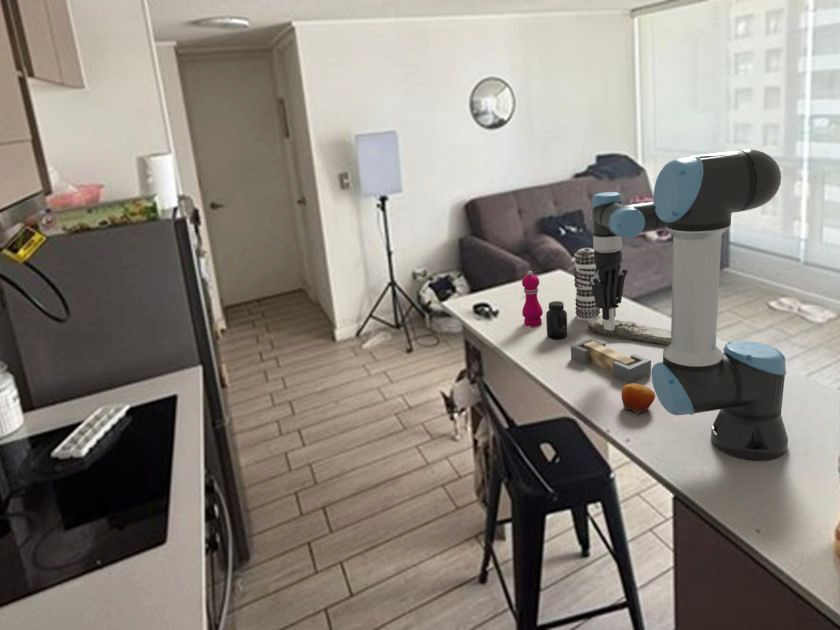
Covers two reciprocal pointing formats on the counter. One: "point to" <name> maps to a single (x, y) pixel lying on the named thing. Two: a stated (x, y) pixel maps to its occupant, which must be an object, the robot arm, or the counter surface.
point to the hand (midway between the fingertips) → (609, 328)
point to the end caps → (615, 363)
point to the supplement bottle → (556, 321)
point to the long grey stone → (632, 331)
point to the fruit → (637, 397)
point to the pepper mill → (531, 301)
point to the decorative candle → (585, 285)
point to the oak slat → (606, 356)
